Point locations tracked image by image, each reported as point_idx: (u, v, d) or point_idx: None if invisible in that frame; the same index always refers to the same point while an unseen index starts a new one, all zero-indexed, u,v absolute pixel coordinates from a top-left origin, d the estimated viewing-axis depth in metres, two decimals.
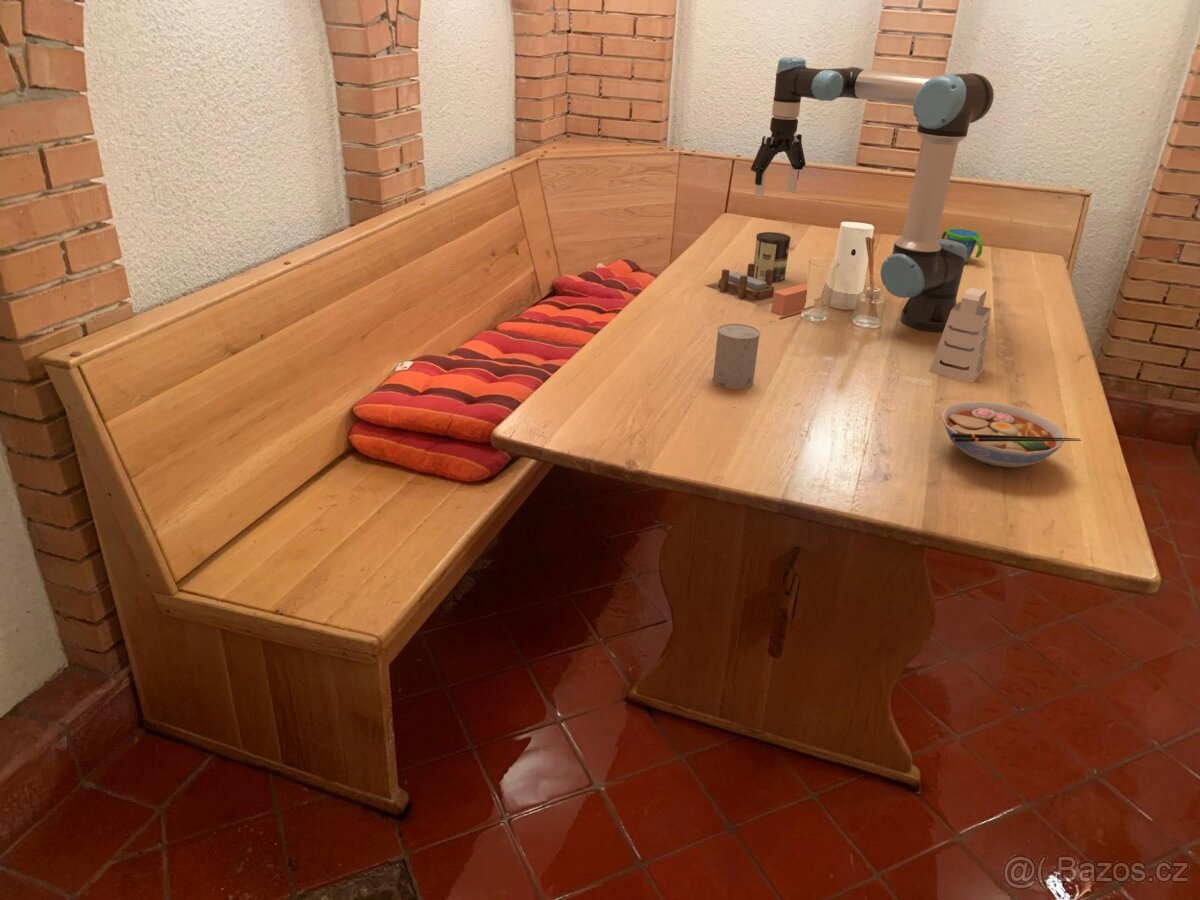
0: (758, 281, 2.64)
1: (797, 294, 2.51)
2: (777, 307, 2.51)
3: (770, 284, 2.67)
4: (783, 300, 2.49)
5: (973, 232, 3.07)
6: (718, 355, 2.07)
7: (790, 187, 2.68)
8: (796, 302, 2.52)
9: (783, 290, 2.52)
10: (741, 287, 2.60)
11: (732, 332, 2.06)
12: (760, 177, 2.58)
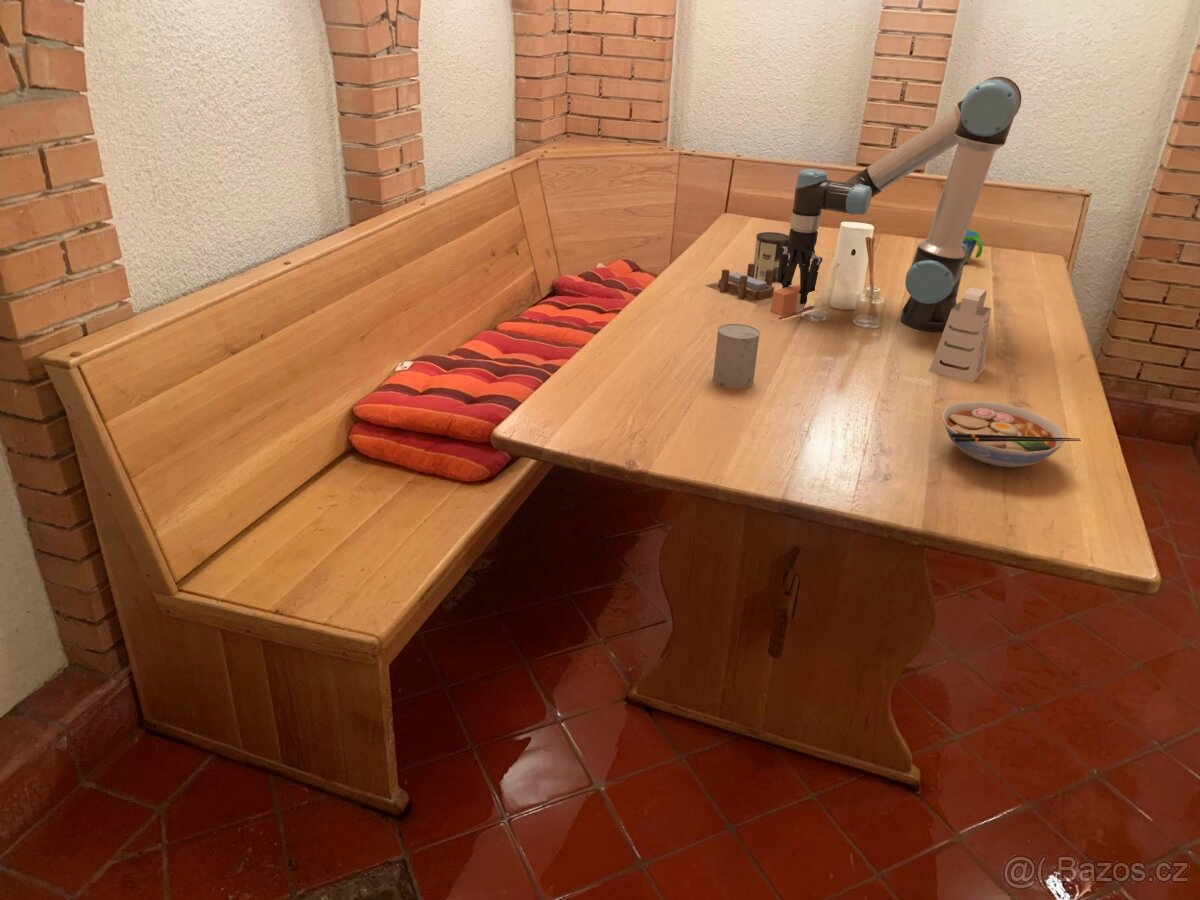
0: (758, 281, 2.64)
1: None
2: (776, 306, 2.51)
3: (770, 284, 2.67)
4: (782, 299, 2.49)
5: (973, 232, 3.07)
6: (718, 356, 2.07)
7: None
8: (795, 302, 2.52)
9: (783, 289, 2.52)
10: (741, 287, 2.60)
11: (732, 332, 2.06)
12: None
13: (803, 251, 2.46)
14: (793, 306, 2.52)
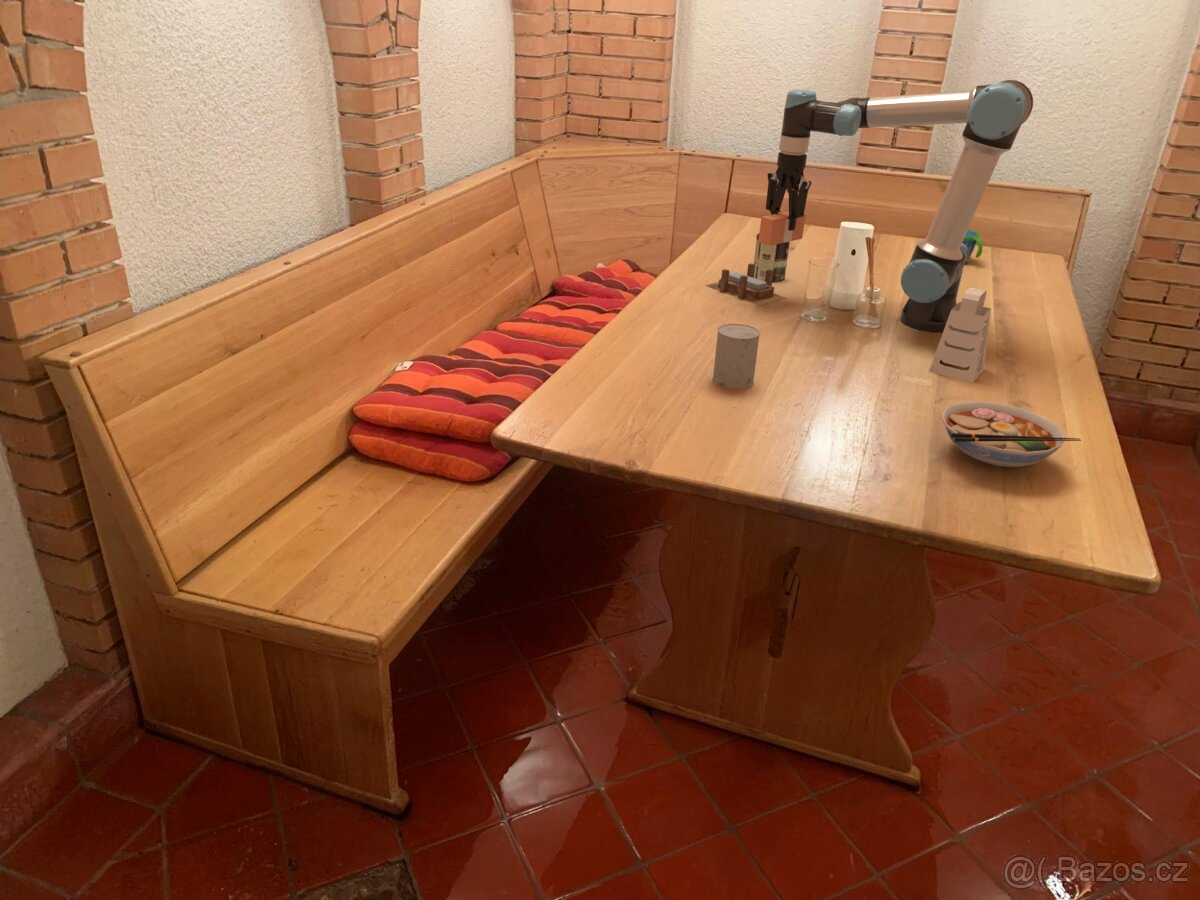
0: (758, 281, 2.64)
1: (785, 220, 2.47)
2: (765, 233, 2.47)
3: (770, 284, 2.67)
4: (771, 225, 2.45)
5: (973, 232, 3.07)
6: (718, 356, 2.07)
7: None
8: (784, 228, 2.48)
9: (771, 215, 2.48)
10: (741, 287, 2.60)
11: (732, 332, 2.06)
12: None
13: (792, 175, 2.42)
14: (781, 233, 2.49)
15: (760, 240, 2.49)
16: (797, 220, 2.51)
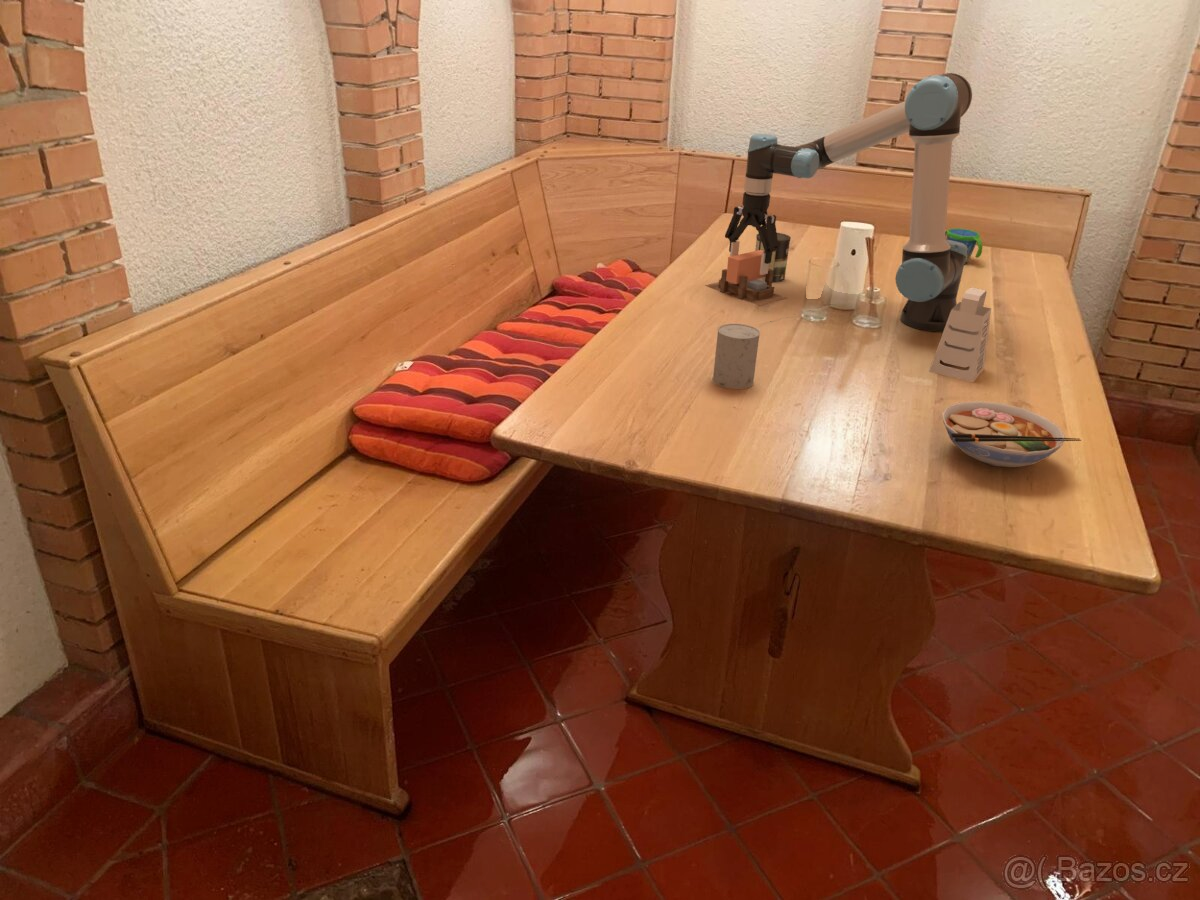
0: (758, 281, 2.64)
1: (751, 260, 2.61)
2: (731, 272, 2.61)
3: (770, 284, 2.67)
4: (737, 265, 2.58)
5: (973, 232, 3.07)
6: (718, 355, 2.07)
7: None
8: (750, 267, 2.62)
9: (738, 255, 2.61)
10: (741, 287, 2.60)
11: (732, 332, 2.06)
12: (731, 244, 2.66)
13: (755, 213, 2.55)
14: (748, 272, 2.62)
15: (727, 279, 2.62)
16: None
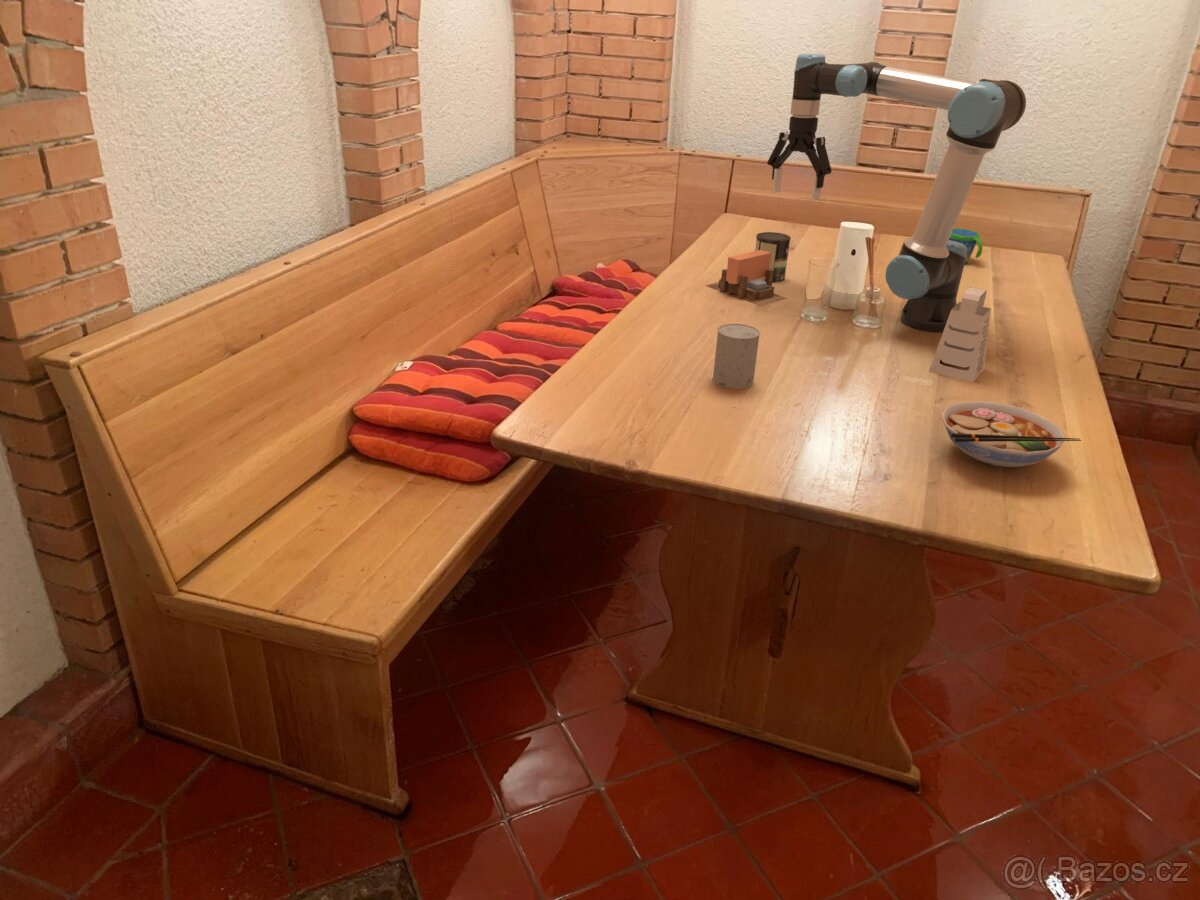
0: (758, 281, 2.64)
1: (751, 260, 2.61)
2: (731, 272, 2.61)
3: (770, 284, 2.67)
4: (737, 265, 2.58)
5: (973, 232, 3.07)
6: (718, 355, 2.07)
7: None
8: (750, 267, 2.62)
9: (738, 255, 2.61)
10: (741, 287, 2.60)
11: (732, 332, 2.06)
12: (774, 171, 2.58)
13: (803, 137, 2.47)
14: (748, 272, 2.62)
15: (727, 279, 2.62)
16: (763, 259, 2.64)
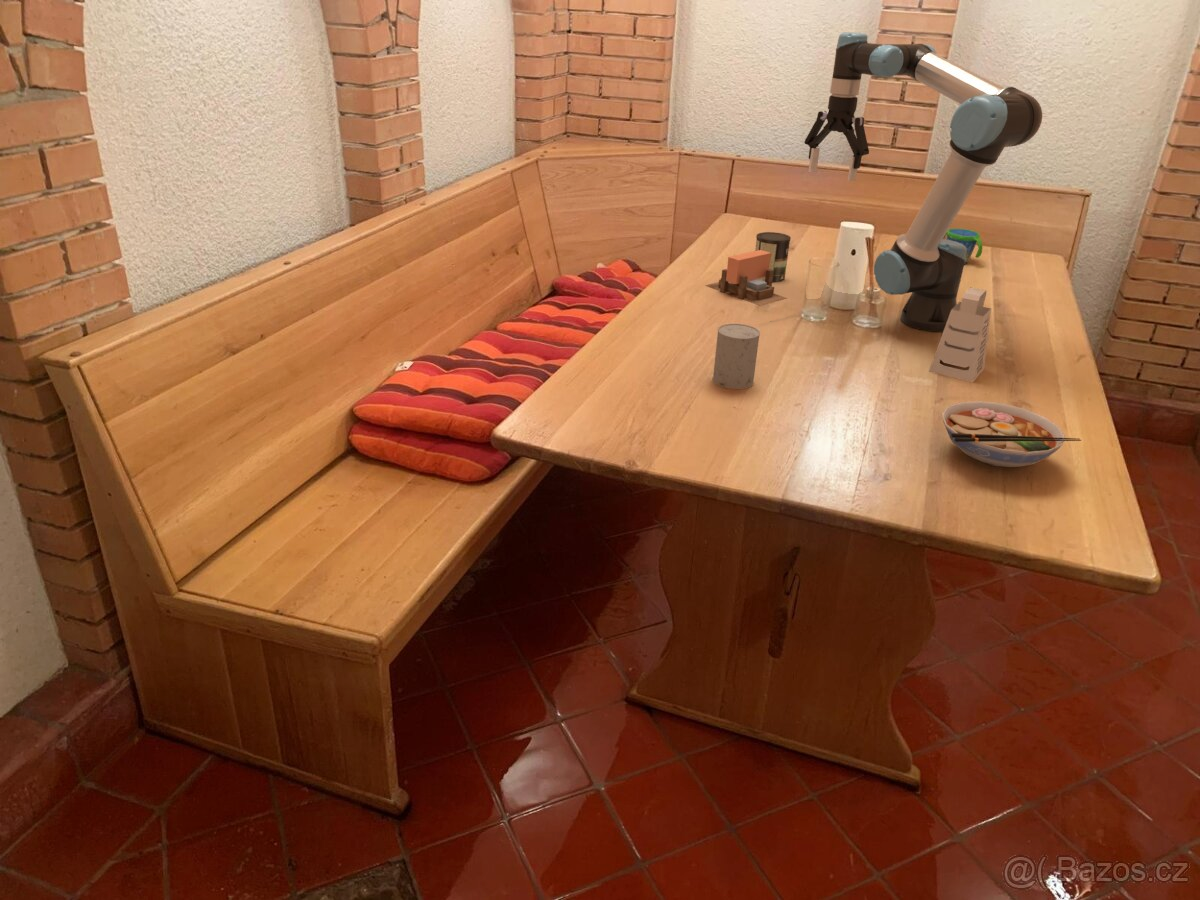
0: (758, 281, 2.64)
1: (751, 260, 2.61)
2: (731, 272, 2.61)
3: (770, 284, 2.67)
4: (737, 265, 2.58)
5: (973, 232, 3.07)
6: (718, 356, 2.07)
7: None
8: (750, 267, 2.62)
9: (738, 255, 2.61)
10: (741, 287, 2.60)
11: (732, 332, 2.06)
12: (810, 151, 2.58)
13: (841, 117, 2.46)
14: (748, 272, 2.62)
15: (727, 279, 2.62)
16: (763, 259, 2.64)
